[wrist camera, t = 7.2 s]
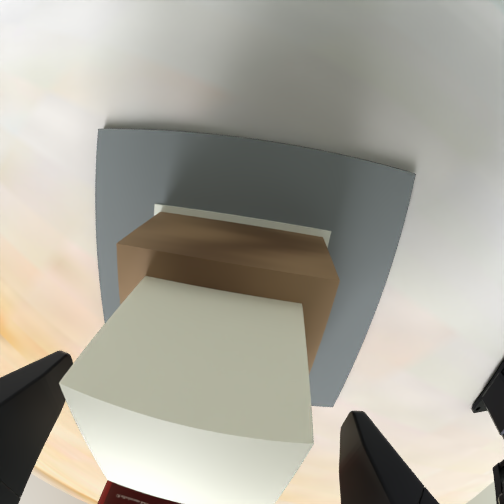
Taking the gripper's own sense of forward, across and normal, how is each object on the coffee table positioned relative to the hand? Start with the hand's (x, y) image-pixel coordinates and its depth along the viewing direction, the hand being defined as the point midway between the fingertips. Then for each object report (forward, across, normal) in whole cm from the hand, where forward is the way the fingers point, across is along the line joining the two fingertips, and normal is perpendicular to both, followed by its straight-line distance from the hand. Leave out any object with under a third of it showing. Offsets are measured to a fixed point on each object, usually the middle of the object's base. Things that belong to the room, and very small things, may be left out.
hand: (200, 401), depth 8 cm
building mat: (+7, 0, 0) cm, 7 cm away
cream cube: (+2, 0, 0) cm, 2 cm away
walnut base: (+6, 0, 0) cm, 6 cm away
